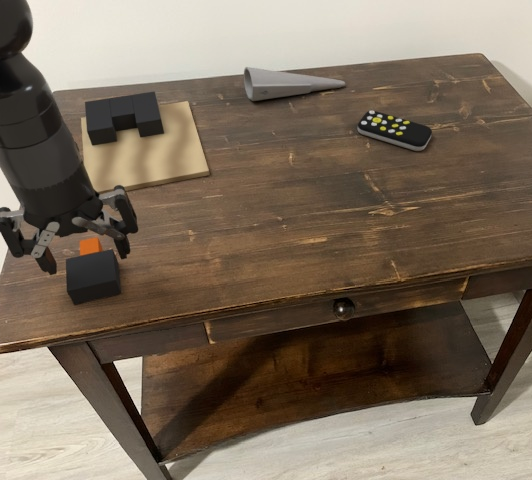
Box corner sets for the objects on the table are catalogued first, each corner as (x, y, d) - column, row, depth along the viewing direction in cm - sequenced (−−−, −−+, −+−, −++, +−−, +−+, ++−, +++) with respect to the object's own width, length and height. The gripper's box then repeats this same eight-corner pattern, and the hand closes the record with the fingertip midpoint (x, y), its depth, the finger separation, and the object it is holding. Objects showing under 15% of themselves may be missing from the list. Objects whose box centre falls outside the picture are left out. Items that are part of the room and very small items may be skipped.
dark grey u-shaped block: (92, 145, 89) (86, 131, 87) (89, 116, 95) (84, 101, 93) (164, 133, 92) (161, 119, 90) (157, 105, 98) (154, 91, 96)
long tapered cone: (337, 54, 106) (244, 60, 100) (349, 73, 103) (253, 81, 96) (332, 78, 111) (242, 85, 104) (343, 98, 107) (251, 106, 101)
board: (87, 198, 82) (85, 193, 81) (82, 122, 95) (80, 117, 95) (209, 175, 87) (208, 170, 86) (188, 105, 100) (187, 100, 99)
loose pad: (73, 305, 69) (66, 291, 66) (72, 258, 74) (65, 243, 72) (121, 293, 70) (116, 279, 68) (116, 248, 75) (111, 234, 73)
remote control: (422, 154, 92) (424, 145, 90) (354, 133, 95) (355, 124, 94) (432, 135, 96) (435, 126, 94) (367, 116, 99) (368, 106, 98)
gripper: (-37, 200, 52) (28, 298, 64) (115, 171, 55) (149, 270, 67) (-29, 153, 57) (30, 253, 69) (110, 130, 60) (143, 229, 72)
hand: (89, 261), depth 68 cm, fingers open, 8 cm apart
